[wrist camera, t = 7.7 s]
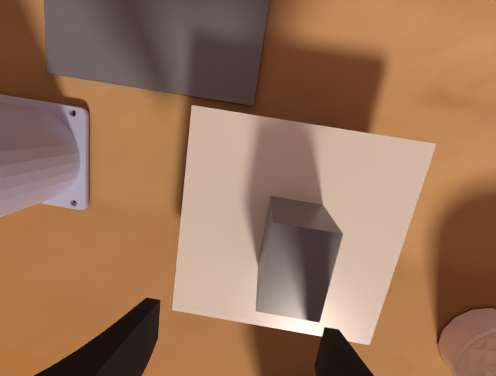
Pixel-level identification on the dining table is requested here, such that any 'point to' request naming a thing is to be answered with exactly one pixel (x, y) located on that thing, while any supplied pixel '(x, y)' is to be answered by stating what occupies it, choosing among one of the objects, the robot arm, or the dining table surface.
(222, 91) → the mat
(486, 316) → the white cup
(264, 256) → the lid
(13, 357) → the dining table surface
